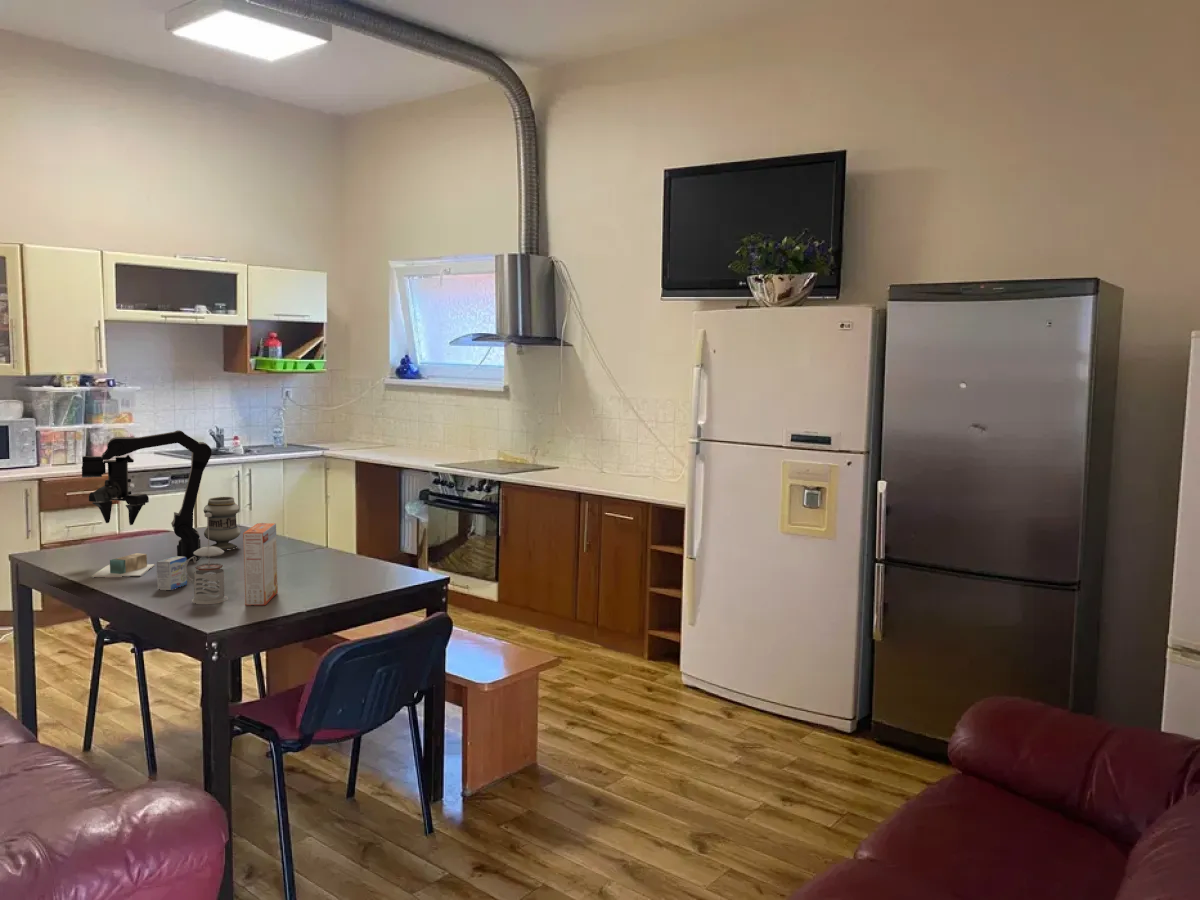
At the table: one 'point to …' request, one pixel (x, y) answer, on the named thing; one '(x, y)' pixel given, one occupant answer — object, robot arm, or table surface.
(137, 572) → the cream square tile
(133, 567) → the birch block
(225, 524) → the apothecary jar
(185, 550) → the robot arm
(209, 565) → the french press
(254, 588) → the cracker box
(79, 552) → the table surface
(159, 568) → the medicine box
